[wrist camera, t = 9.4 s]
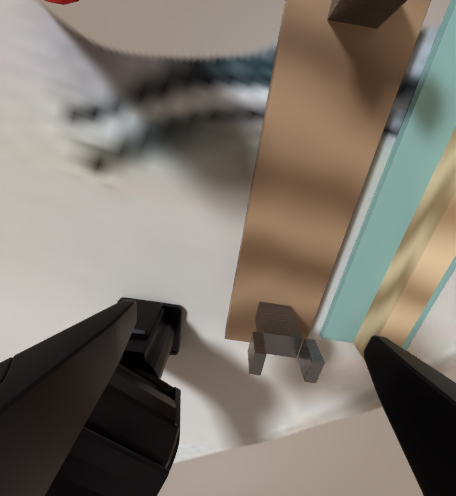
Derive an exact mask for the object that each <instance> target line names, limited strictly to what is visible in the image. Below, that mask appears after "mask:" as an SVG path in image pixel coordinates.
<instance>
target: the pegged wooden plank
mask: <svg viewBox="0 0 456 496" xmlns="http://www.w3.org/2000/svg"><path fill="white" fill-rule="evenodd" d="M406 1H407V0H332V2H331V6H330V10H329V14H328V18H327V20H329V21H335V22H341V23H347V24H352V25H358V26H364V27H370V28H375V29H377V28H378V27H379V26H380V25H382V24H383V23H384V22H385V21H386V20H387V19H388V18H389V17H390V16H391V15H392V14H393V13H394V12H395V11H397V10H398V9H399V8H400V7H401V6H402V5H403V4H404V3H405V2H406ZM255 322H256V330H257V332H252V336H251V340H250V344H249V349H248V361H249V374H254V375H261V372H262V368H263V365H264V361H265V358H266V354H273V355H280V356H288V357H295V358H296V357H297V354H298V352H299V349H300V346H301V343H302V340H303V337H302V334H301V331H300V329H299V326H298V323H297V321H296V318H295V315H294V313H293V310H292V307H291V306H287V305H280V304H273V303H266V302H260V301H259V305H258V309H257V313H256V317H255ZM298 361H299V364H300V367H301V371H302V374H303V377H304V380H305V382H313V383H316V381H317V379H318V377H319V374H320V372H321V370H322V367H323V365H324V360H323V358H322V356H321V353H320V351H319V349H318V346H317V344H316V342H315V340H310V339H304V341H303V344H302V347H301V350H300V352H299V355H298Z"/></svg>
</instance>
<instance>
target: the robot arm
mask: <svg viewBox="0 0 456 496" xmlns="http://www.w3.org/2000/svg"><path fill="white" fill-rule="evenodd" d="M176 310H178V311H176ZM181 321H182V307H181V306H179V305H173V304H166V303H159V302H152V301H145V300H138V299H131V298H120V300H119V301H118V303H117V304H115V305H113V306H111V307H109V308H107V309H105V310H103V311H101V312H99V313H97V314H95V315H93V316H91V317H89V318H87V319H85V320H83V321H81V322H79V323H77V324H75V325H73V326H71V327H70V328H68V329H66V330H64V331H62V332H60V333H58V334H56V335H54V336H52V337H50V338H48V339H46V340H44V341H42V342H40V343H38V344H36V345H34V346H32V347H30V348H28V349H26V350H24V351H22V352H20V353H19V354H17V355H15V356H14V357H13V358H12V357H11V358H9V359H7V360H5V361H3V362H1V363H0V496H157V495H158V493H159V491H160V489H161V487H162V486H163V484H164V482H165V480H166V478H167V477H168V474H169V471H170V468H171V466H172V464H173V461H174V459H175V456H176V453H177V449H178V445H179V438H180V395H181V391H180V390H179V389H178V388H176V387H172V386H170V385H169V384H167V383H166V382H164V381H162V380H161V376H162V374H163V371H164V368H165V365H166V362H167V359H168V356H169V355H177V354H178V352H179V345H180V333H181ZM174 350H175V351H174ZM364 359H365V362H366V364H367V367H368V370H369V373H370V375H371V378H372V381H373V384H374V386H375V389H376V392H377V394H378V397H379V400H380V402H381V404H382V406H383V409H384V411H385V413H386V415H387V417H388V419H389V422H390V424H391V426H392V428H393V430H394V432H395V434H396V437H397V439H398V441H399V443H400V445H401V447H402V450H403V452H404V454H405V456H406V458H407V460H408V462H409V465H410V466H411V469H412V471H413V473H414V475H415V477H416V480H417V482H418V484H419V486H420V488H421V490H422V492H423V495H424V496H456V383H455V382H453V381H452V380H450V379H449V378H447V377H446V376H444V375H443V374H441V373H440V372H438V371H437V370H435V369H434V368H432V367H430V366H429V365H427V364H426V363H424V362H423V361H421V360H420V359H418V358H417V357H415V356H414V355H412V354H411V353H409V352H408V351H406V350H404V349H403V348H401V347H400V346H398V345H397V344H395V343H394V342H392V341H391V340H389V339H388V338H386V337H383V336H377V335H373V336H372V337H371V338H370V340H369V342H368V344H367V346H366V347H365V349H364Z"/></svg>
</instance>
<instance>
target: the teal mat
mask: <svg viewBox="0 0 456 496" xmlns="http://www.w3.org/2000/svg"><path fill="white" fill-rule="evenodd" d="M455 127H456V0H451V1H450V4H449V6H448V9H447V11H446V14H445V16H444V19H443V21H442V24H441V26H440V29H439V32H438V34H437V37H436V39H435V42H434V44H433V47H432V49H431V52H430V54H429V57H428V60H427V62H426V65H425V67H424V70H423V72H422V75H421V77H420V80H419V83H418V85H417V88H416V90H415V93H414V95H413V98H412V100H411V103H410V105H409V108H408V111H407V113H406V116H405V118H404V121H403V123H402V126H401V128H400V131H399V133H398V136H397V139H396V141H395V144H394V146H393V149H392V151H391V154H390V156H389V159H388V162H387V164H386V167H385V169H384V172H383V174H382V177H381V179H380V182H379V184H378V187H377V190H376V192H375V195H374V197H373V200H372V202H371V205H370V207H369V210H368V212H367V215H366V218H365V220H364V223H363V225H362V228H361V230H360V233H359V235H358V238H357V241H356V243H355V246H354V248H353V251H352V253H351V256H350V258H349V261H348V263H347V266H346V269H345V271H344V274H343V276H342V279H341V281H340V284H339V286H338V289H337V291H336V294H335V297H334V299H333V302H332V304H331V307H330V309H329V312H328V314H327V317H326V320H325V322H324V325H323V327H322V330H321V332H320V335H321V338H323V339H330V340H337V341H344V342H351V343H353V342H354V340H355V337H356V335H357V333H358V331H359V329H360V327H361V325H362V323H363V321H364V319H365V316H366V314H367V312H368V310H369V308H370V306H371V304H372V302H373V300H374V297H375V295H376V293H377V291H378V289H379V287H380V285H381V283H382V281H383V279H384V276H385V274H386V272H387V270H388V268H389V266H390V264H391V262H392V260H393V257H394V255H395V253H396V251H397V249H398V247H399V245H400V243H401V241H402V239H403V236H404V234H405V232H406V230H407V228H408V226H409V224H410V222H411V220H412V217H413V215H414V213H415V211H416V209H417V207H418V205H419V203H420V201H421V199H422V196H423V194H424V192H425V190H426V188H427V186H428V184H429V182H430V180H431V177H432V175H433V173H434V171H435V169H436V167H437V165H438V163H439V161H440V159H441V156H442V154H443V152H444V150H445V148H446V146H447V144H448V142H449V140H450V137H451V135H452V133H453V131H454V129H455ZM455 268H456V255H455V257H454V259H453V260H452V262H451V264H450V266H449V267H448V269H447V271H446V272H445V274H444V276H443V277H442V279H441V281H440V283H439V284H438V286H437V288H436V289H435V291H434V293H433V294H432V296H431V298H430V299H429V301H428V303H427V305H426V306H425V308H424V310H423V311H422V313H421V315H420V316H419V318H418V320H417V321H416V323H415V325H414V327H413V328H412V330H411V332H410V333H409V335H408V337H407V338H406V340H405V342H404V344H403V345H402V347H401V348H403V349H404V350H406V349H407V347H408V346H409V344H410V342H411V341H412V339H413V338H414V336H415V334H416V333H417V331H418V329H419V328H420V326H421V324H422V323H423V321H424V319H425V318H426V316H427V314H428V313H429V311H430V309H431V308H432V306H433V304H434V303H435V301H436V299H437V298H438V296H439V295H440V293H441V291H442V290H443V288H444V286H445V285H446V283H447V281H448V280H449V278H450V276H451V275H452V273H453V271H454V270H455Z"/></svg>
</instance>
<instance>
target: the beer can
mask: <svg viewBox="0 0 456 496" xmlns="http://www.w3.org/2000/svg"><path fill="white" fill-rule="evenodd" d="M45 1H48V2H52V3H57V4H63V5H65V4H69V3H73V2H77V1H79V0H45Z"/></svg>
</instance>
